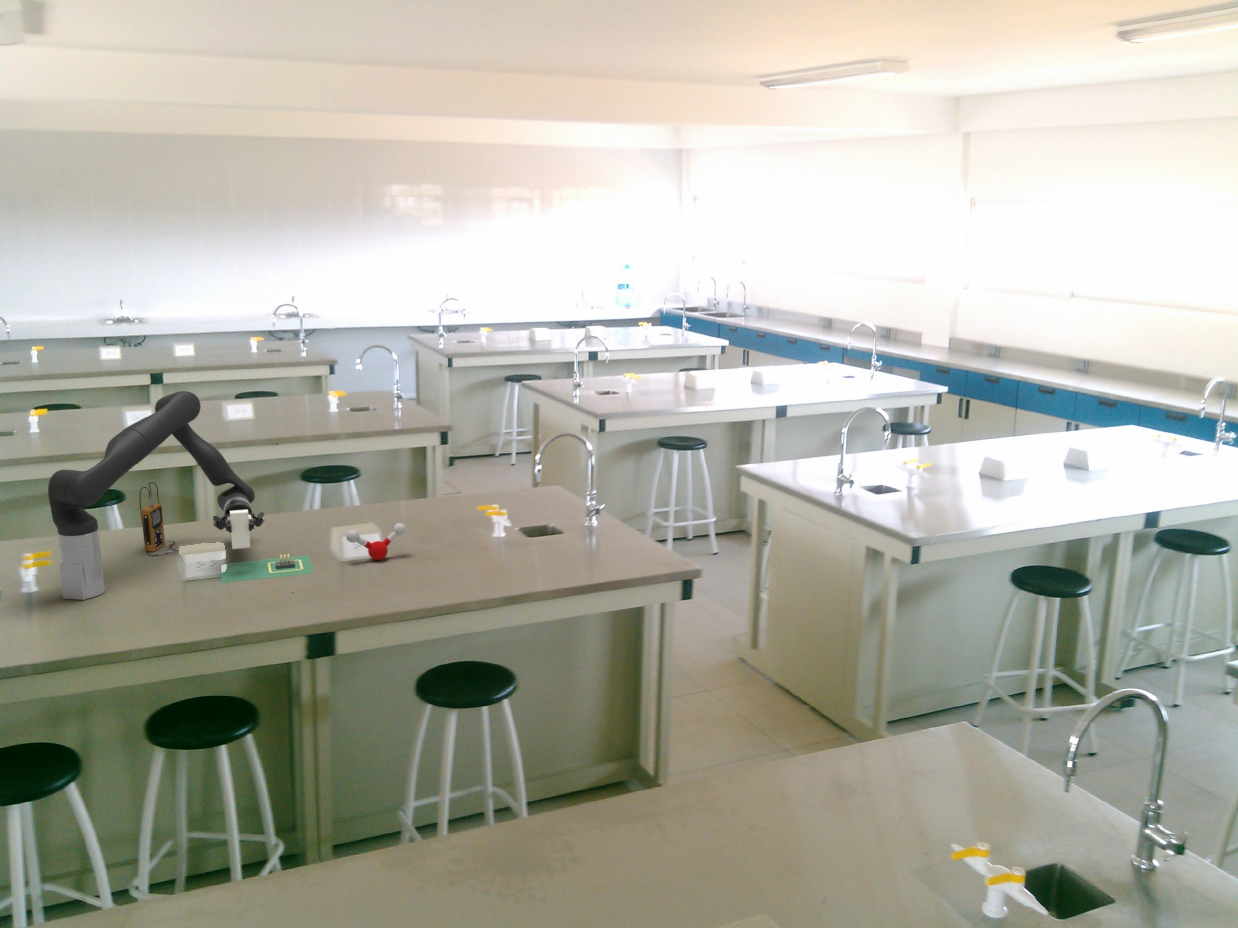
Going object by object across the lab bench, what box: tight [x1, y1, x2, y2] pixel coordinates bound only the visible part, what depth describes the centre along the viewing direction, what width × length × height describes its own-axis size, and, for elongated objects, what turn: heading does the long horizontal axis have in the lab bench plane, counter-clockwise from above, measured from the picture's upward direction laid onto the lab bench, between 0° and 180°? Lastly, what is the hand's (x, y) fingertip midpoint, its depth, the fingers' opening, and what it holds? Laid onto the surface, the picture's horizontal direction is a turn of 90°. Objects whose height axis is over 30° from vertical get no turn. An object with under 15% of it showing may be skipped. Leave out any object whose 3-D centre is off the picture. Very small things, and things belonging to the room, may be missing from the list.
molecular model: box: [345, 522, 407, 561], centre depth 292 cm, size 18×6×10 cm, turn 120°
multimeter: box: [139, 482, 178, 557], centre depth 296 cm, size 15×10×20 cm
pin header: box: [275, 553, 295, 569], centre depth 281 cm, size 3×5×4 cm
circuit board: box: [220, 554, 315, 584], centre depth 279 cm, size 24×16×2 cm, turn 113°
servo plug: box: [230, 510, 251, 550], centre depth 274 cm, size 3×5×10 cm, turn 112°
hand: (240, 528), depth 271 cm, fingers closed on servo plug, 4 cm apart
